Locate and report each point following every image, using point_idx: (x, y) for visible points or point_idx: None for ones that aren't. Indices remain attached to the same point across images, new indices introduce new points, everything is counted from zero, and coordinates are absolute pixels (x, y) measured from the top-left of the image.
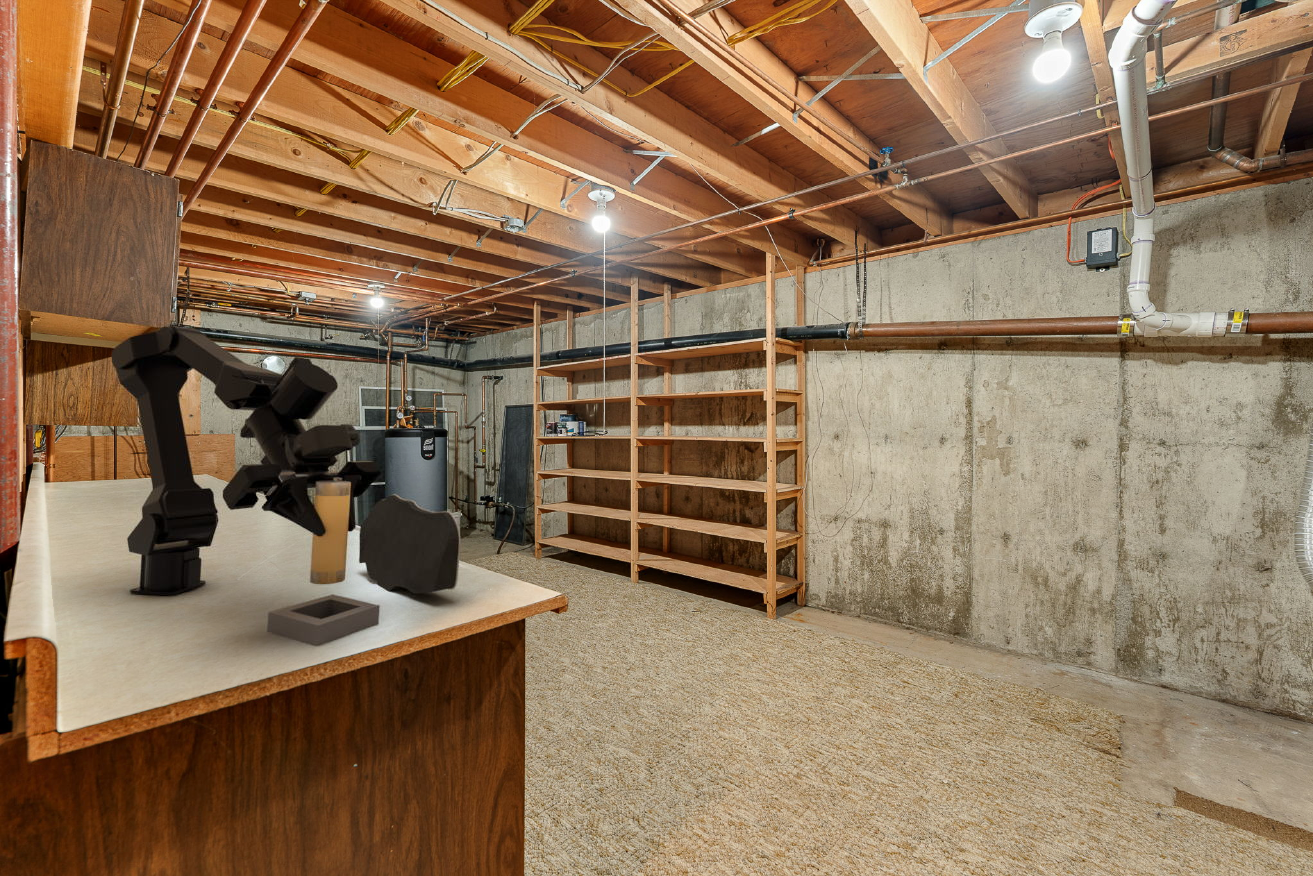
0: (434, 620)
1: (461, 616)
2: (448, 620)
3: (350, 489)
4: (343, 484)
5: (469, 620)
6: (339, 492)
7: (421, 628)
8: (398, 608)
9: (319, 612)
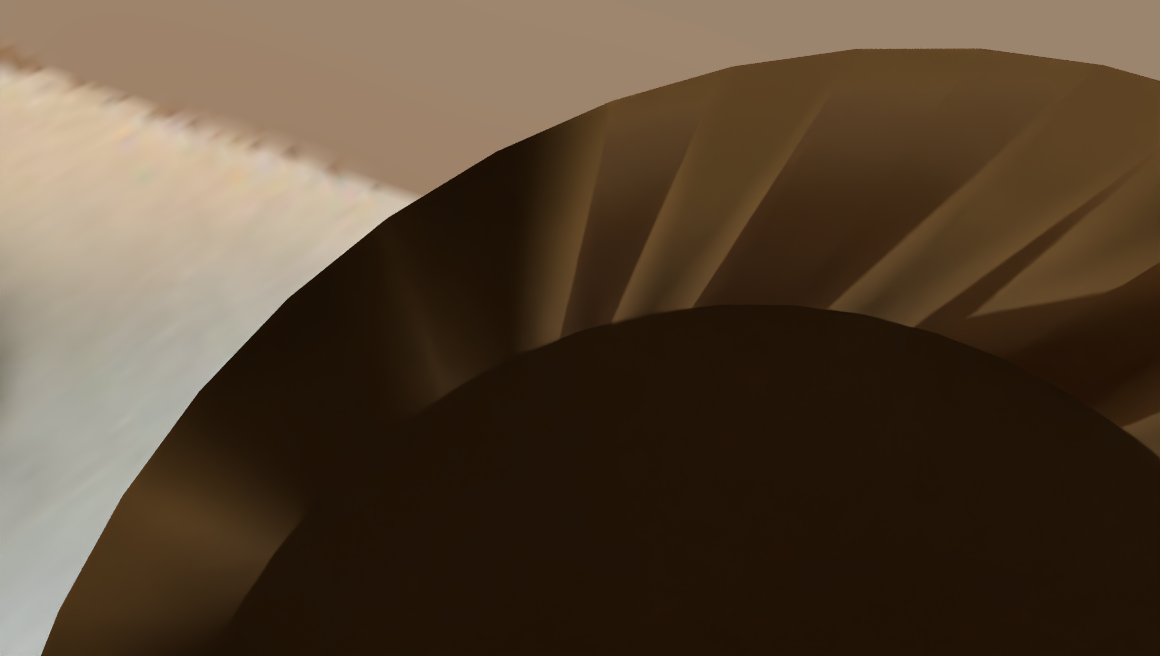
0: (168, 269)
1: (51, 182)
2: (140, 204)
3: (285, 444)
4: (1046, 76)
5: (100, 111)
6: (1033, 288)
7: (310, 250)
8: (38, 613)
9: None
